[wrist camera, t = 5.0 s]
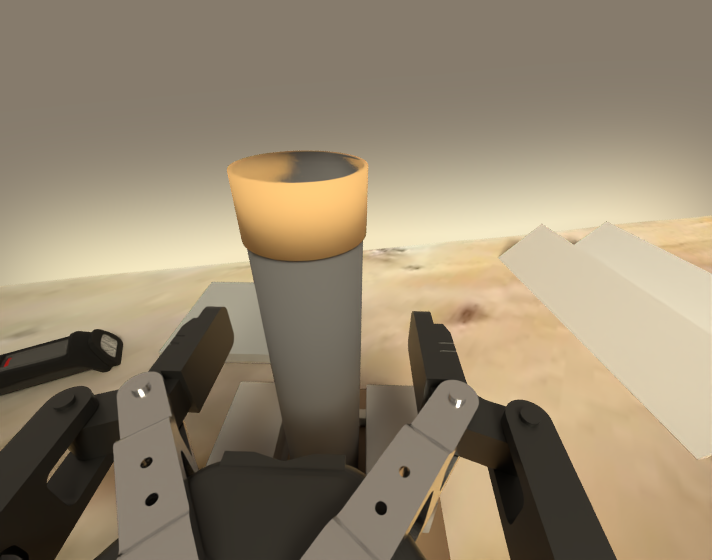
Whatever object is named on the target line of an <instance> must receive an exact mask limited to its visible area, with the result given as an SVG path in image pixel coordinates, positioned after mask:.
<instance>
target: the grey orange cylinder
mask: <svg viewBox="0 0 712 560" xmlns="http://www.w3.org/2000/svg"><path fill="white" fill-rule="evenodd" d="M227 173H228V178H229V182H230V187H231V192H232V196H233V201H234V206H235V210H236V215H237V220H238V225H239V229H240V234H241V239H242V242H243V244H244V246H245V247H246V248H247V250H248V255H249V260H250V265H251V270H252V275H253V280H254V285H255V289H256V294H257V299H258V304H259V309H260V314H261V319H262V324H263V328H264V333H265V338H266V343H267V348H268V353H269V358H270V363H271V367H272V372H273V377H274V382H275V387H276V392H277V397H278V402H279V406H280V411H281V416H282V421H283V426H284V431H285V436H286V441H287V446H288V450H289V455H290V460H291V459H295V458H300V457H304V456H308V455H313V454H336V455H346V464H347V465H349V466H352V467H354V468H356V469H358V453H359V405H360V357H361V309H362V260H363V240H364V238H365V236H366V225H367V188H368V184H367V183H368V163H367V162H366V161H365V160H363V159H361V158H359V157H356V156H353V155H349V154H343V153H337V152H328V151H285V152H275V153H274V152H273V153H266V154H259V155H254V156H250V157H246V158H243V159H240V160H237V161H235V162H233V163H232V164H230V165H229V166H228V167H227Z"/></svg>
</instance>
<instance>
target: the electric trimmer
mask: <svg viewBox="0 0 712 560" xmlns="http://www.w3.org/2000/svg"><path fill="white" fill-rule="evenodd" d="M122 349H123V343H122V341H121V339H120V338H118V337H117V336H116V335H114V334H112V333H110V332H107V331H103V330H100V329H95V330H93V331H92V332H83V331H76V332H74V333H72V334H70V336H68V337H65V338H61V339H57V340H54V341H50V342H47V343H43V344H39V345H36V346H32V347H28V348H25V349H21V350H17V351H14V352H10V353H7V354H3V355H0V395H3V394H6V393H10V392H13V391H17V390H20V389H24V388H27V387H31V386H34V385H38V384H41V383H45V382H48V381H52V380H55V379H59V378H62V377H65V376H69V375H72V374H76V373H79V372H83V371H86V370H90V369H93V370H96V371H100V372H107V371H110V370H111V368H112V366H116V365H119V364H120V363H121V357H122Z"/></svg>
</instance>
